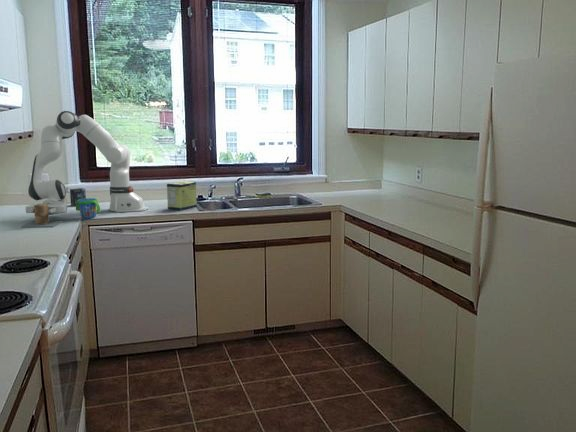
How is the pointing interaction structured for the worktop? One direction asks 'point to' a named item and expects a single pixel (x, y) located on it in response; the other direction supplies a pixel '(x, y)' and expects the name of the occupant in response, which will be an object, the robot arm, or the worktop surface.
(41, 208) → the walnut block
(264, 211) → the worktop surface
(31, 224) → the mat
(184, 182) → the protein box
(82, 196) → the box
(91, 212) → the snack cup
